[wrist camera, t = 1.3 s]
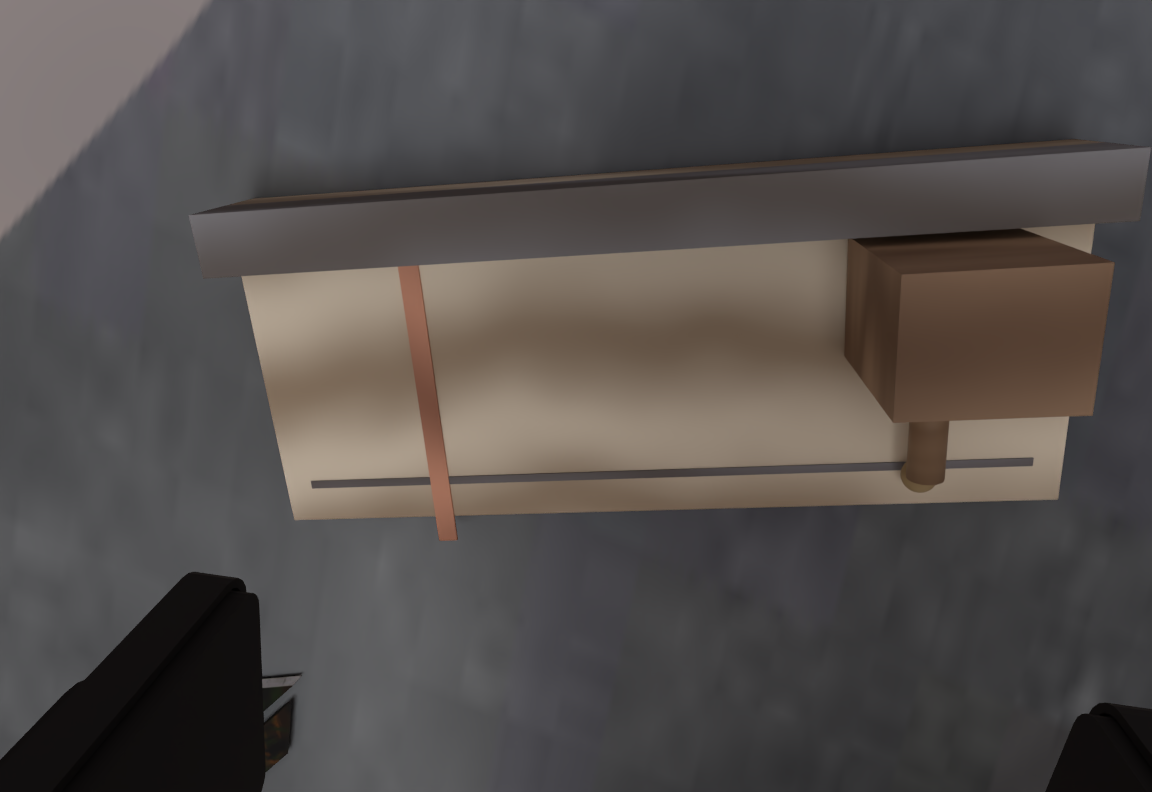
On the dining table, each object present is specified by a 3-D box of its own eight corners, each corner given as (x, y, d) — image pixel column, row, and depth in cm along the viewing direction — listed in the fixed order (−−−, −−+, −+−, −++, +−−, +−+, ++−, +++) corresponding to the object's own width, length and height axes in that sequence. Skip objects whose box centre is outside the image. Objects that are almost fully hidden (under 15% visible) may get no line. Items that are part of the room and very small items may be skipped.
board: (1030, 498, 31) (1087, 560, 27) (318, 517, 34) (272, 576, 30) (1074, 139, 27) (1151, 147, 22) (253, 198, 30) (188, 215, 26)
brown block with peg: (987, 481, 29) (1069, 575, 23) (839, 485, 29) (884, 578, 23) (1013, 225, 26) (1114, 262, 20) (848, 236, 26) (901, 274, 20)
